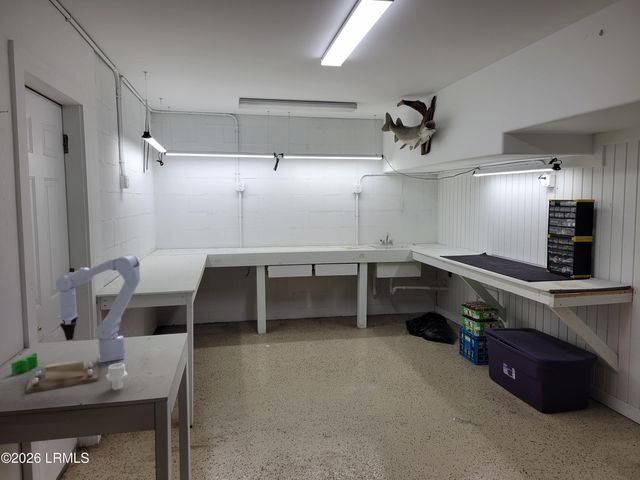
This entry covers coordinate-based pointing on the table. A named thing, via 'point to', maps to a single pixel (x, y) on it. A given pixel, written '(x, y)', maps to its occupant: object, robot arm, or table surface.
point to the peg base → (62, 380)
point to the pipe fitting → (116, 375)
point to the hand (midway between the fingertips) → (70, 337)
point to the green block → (24, 363)
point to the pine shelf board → (64, 370)
